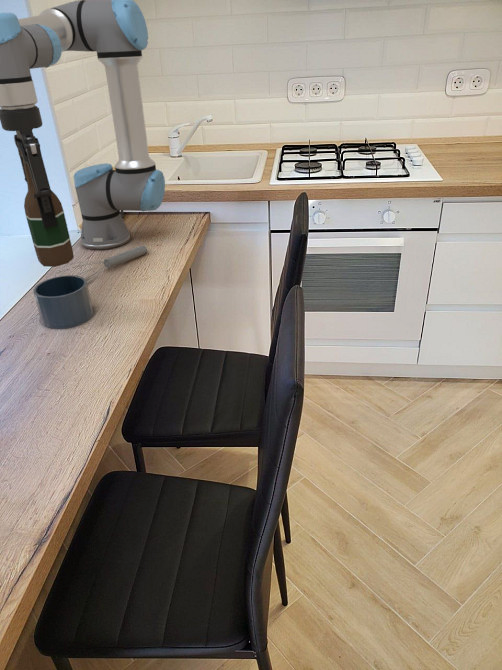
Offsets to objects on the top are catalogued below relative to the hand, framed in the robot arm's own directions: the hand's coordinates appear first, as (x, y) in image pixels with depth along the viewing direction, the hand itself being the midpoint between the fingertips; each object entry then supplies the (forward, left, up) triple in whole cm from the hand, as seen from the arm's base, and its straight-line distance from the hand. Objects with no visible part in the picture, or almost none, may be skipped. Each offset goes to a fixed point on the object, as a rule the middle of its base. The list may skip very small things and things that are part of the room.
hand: (46, 221), depth 113 cm
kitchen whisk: (-25, -4, -23) cm, 35 cm away
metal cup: (0, -1, -23) cm, 23 cm away
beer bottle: (0, 0, -9) cm, 9 cm away
